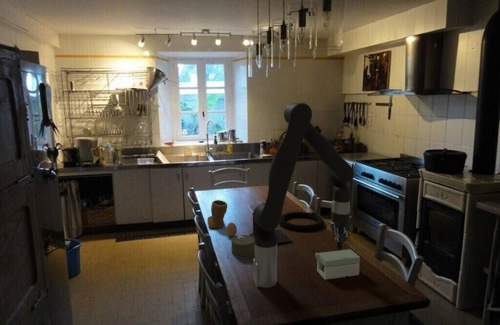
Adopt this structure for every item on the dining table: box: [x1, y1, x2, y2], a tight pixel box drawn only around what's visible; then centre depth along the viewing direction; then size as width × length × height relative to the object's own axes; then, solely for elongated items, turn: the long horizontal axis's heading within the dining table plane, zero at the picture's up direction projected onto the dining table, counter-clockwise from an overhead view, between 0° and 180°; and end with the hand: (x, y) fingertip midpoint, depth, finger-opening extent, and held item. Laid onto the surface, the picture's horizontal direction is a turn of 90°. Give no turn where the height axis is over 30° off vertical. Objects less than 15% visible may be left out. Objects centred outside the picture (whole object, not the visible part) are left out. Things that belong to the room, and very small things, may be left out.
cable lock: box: [279, 211, 325, 232], centre depth 216 cm, size 28×4×30 cm
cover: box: [314, 249, 361, 267], centre depth 154 cm, size 17×9×2 cm, turn 104°
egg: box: [225, 221, 238, 237], centre depth 194 cm, size 6×6×8 cm
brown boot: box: [206, 199, 228, 229], centre depth 211 cm, size 15×12×15 cm
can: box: [230, 234, 255, 259], centre depth 174 cm, size 12×12×7 cm
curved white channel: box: [316, 259, 361, 280], centre depth 154 cm, size 16×8×6 cm, turn 104°
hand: (339, 248), depth 153 cm, fingers closed
